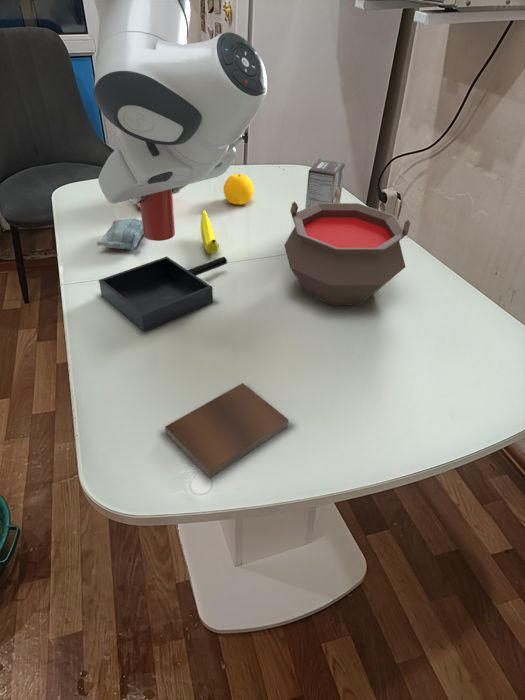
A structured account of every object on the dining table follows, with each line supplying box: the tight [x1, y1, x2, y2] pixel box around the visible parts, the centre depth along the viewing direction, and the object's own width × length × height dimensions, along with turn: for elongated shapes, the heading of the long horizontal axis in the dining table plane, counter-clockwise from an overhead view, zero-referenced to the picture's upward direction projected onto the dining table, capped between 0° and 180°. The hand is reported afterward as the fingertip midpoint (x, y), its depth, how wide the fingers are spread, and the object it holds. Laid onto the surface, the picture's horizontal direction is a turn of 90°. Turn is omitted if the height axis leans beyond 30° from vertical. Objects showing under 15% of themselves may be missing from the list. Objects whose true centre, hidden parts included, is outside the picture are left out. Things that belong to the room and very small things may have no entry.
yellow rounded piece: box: [222, 173, 255, 205], centre depth 134 cm, size 8×8×8 cm
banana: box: [200, 209, 220, 255], centre depth 114 cm, size 3×19×6 cm, turn 11°
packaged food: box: [96, 218, 145, 251], centre depth 114 cm, size 9×12×5 cm
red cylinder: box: [139, 189, 176, 242], centre depth 79 cm, size 5×5×11 cm
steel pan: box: [98, 256, 228, 333], centre depth 99 cm, size 24×15×4 cm, turn 132°
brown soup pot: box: [284, 201, 411, 306], centre depth 99 cm, size 24×24×16 cm
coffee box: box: [304, 158, 346, 209], centre depth 119 cm, size 9×6×16 cm
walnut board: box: [164, 382, 289, 479], centre depth 72 cm, size 14×10×2 cm
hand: (153, 194), depth 79 cm, fingers closed on red cylinder, 5 cm apart
